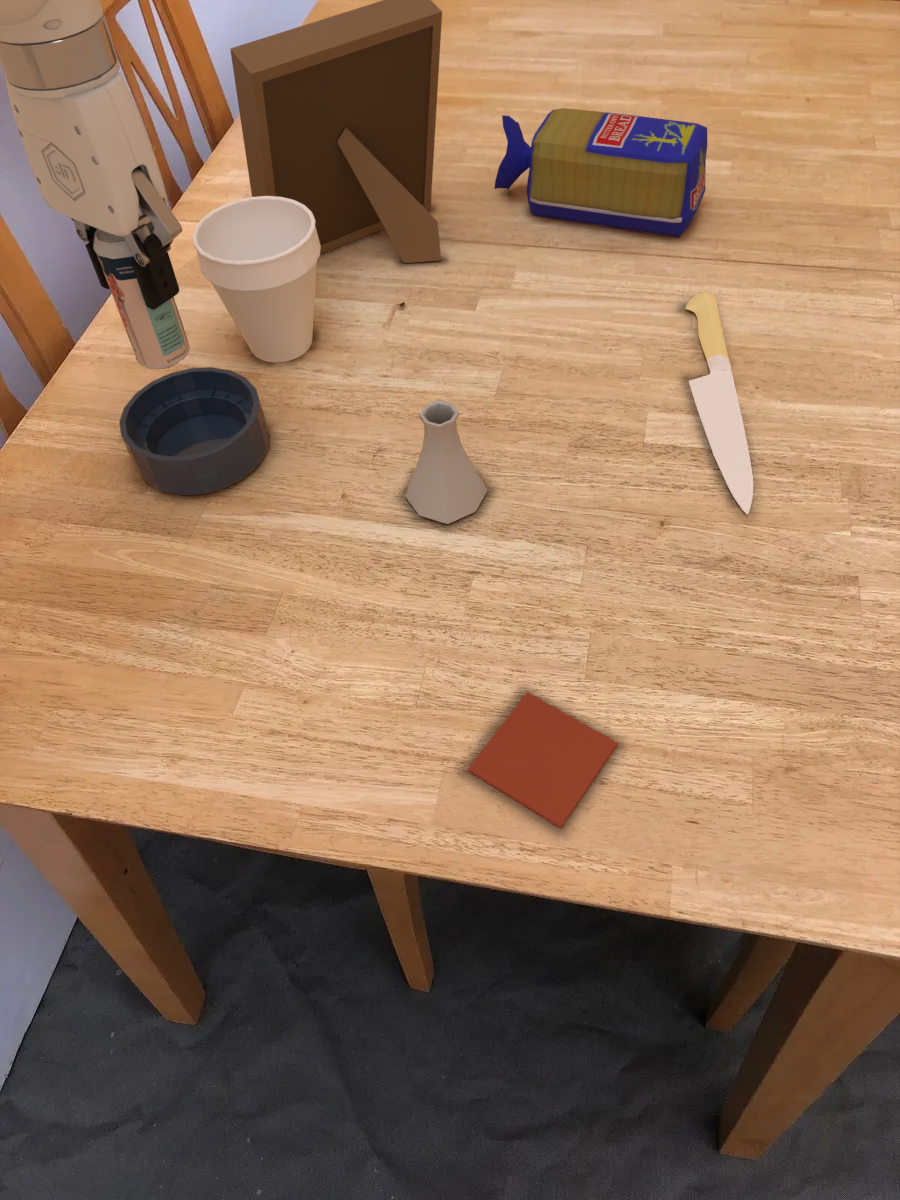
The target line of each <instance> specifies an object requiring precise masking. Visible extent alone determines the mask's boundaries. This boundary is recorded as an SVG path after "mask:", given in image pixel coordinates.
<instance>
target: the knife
mask: <svg viewBox="0 0 900 1200" xmlns="http://www.w3.org/2000/svg"><path fill="white" fill-rule="evenodd" d="M684 309H685V310H686V311H687V310H688V311H690V312H692V313H694V314H695V316H696V318H697V334H698V335H697V336H698V338H699V341H700V346H701V348H702V351H703V354H704V356H705V359H706V363H707V366H708V369H709V374H706V375H703V376H700V377H697V378H693V379H690V380H688V384H689V388H690V390H691V393H692V398H693V400H694V404H695V407H696V409H697V412H698V415H699V418H700V421H701V424H702V426H703V430H704V432H705V435H706V438H707V441H708V444H709V446H710V449H711V452H712V454H713V458H714V459H715V461H716V464H717V467H718V468H719V470H720V473H721V475H722V477H723V479H724V481H725V483H726V486H727V488H728V489H729V492H730V493H731V495H732V497H733V499H734V501H735V502H736V503H737V505H738V506H739V507H740V509H741V510H742V511H743V512H744V513H745V515H747V516H749V514H750V511H751V507H752V503H753V498H754V476H753V469H752V468H753V467H752V463H751V457H750V451H749V450H750V449H749V445H748V440H747V436H746V430H745V424H744V419H743V415H742V411H741V406H740V402H739V398H738V392H737V389H736V384H735V380H734V375H733V371H732V366H731V362H730V359H729V354H728V350H727V345H726V341H725V336H724V335H725V334H724V330H723V326H722V321H721V317H720V312H719V306H718V301H717V298H716V296H715V294H713V293H712V292H711V291H709V290H706V291H705V290H704V291H700V292H698V293H695V295H693V297H691V298H690V299H689V301H688V302H687V304H686V306H685V307H684Z"/></svg>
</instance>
